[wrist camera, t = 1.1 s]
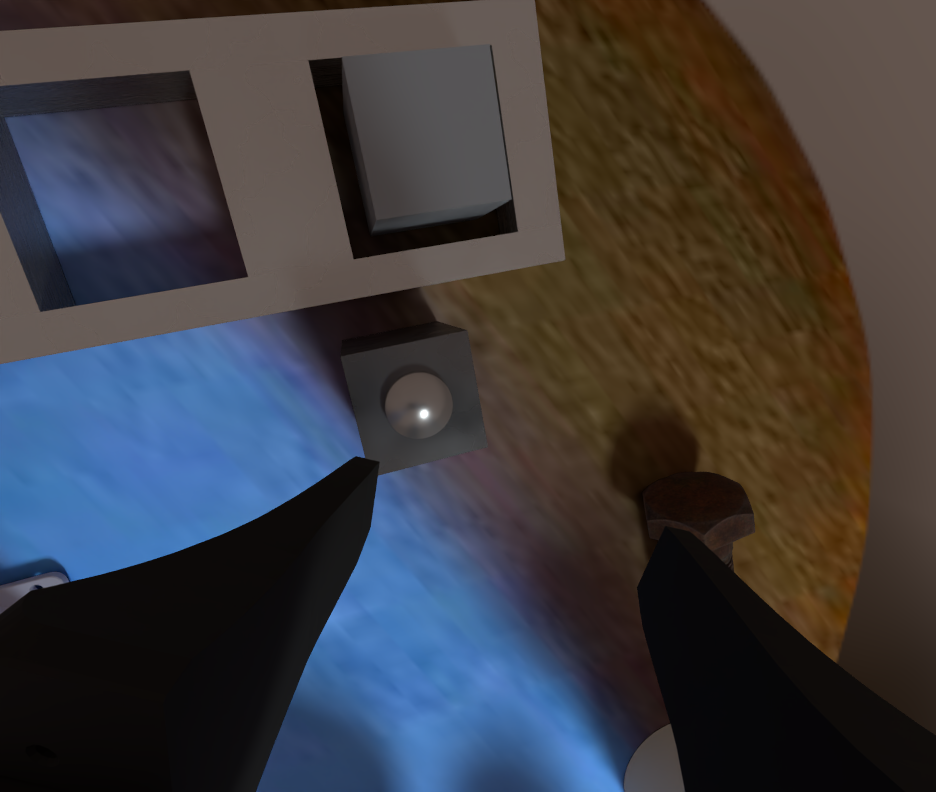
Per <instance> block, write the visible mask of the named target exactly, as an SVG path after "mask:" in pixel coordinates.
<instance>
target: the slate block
mask: <svg viewBox="0 0 936 792" xmlns="http://www.w3.org/2000/svg"><path fill="white" fill-rule="evenodd" d="M342 86H343V114H344V118H345V123H346V128H347V132H348V137H349V141H350V146H351V151H352V155H353V160H354V164H355V169H356V174H357V178H358V183H359V187H360V192H361V197H362V201H363V206H364V210H365V215H366V219H367V224H368V229H369V233H370V236H377V235H383V234H389V233H395V232H402V231H408V230H414V229H420V228H426V227H433V226H439V225H445V224H451V223H458V222H464V221H470V220H476V219H478V218H480V217H482V216H484V215H485V214H487V213H489V212H491V211H492V210H494V209H496V208H497V207H499V206H501V205H503V204H504V203H506V202H508V201H509V200H511V199H512V198H511V191H510V184H509V177H508V170H507V163H506V156H505V149H504V142H503V135H502V128H501V121H500V114H499V107H498V100H497V93H496V86H495V79H494V72H493V65H492V58H491V51H490V44H485V45H473V46H461V47H449V48H438V49H426V50H414V51H403V52H391V53H379V54H368V55H356V56H344V57H342Z"/></svg>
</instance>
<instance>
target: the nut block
mask: <svg viewBox="0 0 936 792" xmlns="http://www.w3.org/2000/svg"><path fill="white" fill-rule="evenodd" d="M340 357H341V361H342V365H343V369H344V373H345V377H346V381H347V385H348V389H349V393H350V398H351V402H352V406H353V410H354V414H355V418H356V422H357V426H358V430H359V434H360V438H361V442H362V446H363V450H364V454H365V458H366V459H370V460H375V461H379V462H380V464H379V471H378V475H382V474H386V473H390V472H393V471H397V470H401V469H405V468H409V467H413V466H416V465H420V464H424V463H428V462H432V461H436V460H439V459H443V458H447V457H451V456H455V455H459V454H462V453H466V452H470V451H474V450H478V449H482V448H486V447H488V445H487V440H486V434H485V428H484V423H483V417H482V411H481V406H480V400H479V394H478V389H477V383H476V377H475V372H474V366H473V360H472V355H471V349H470V343H469V338H468V332H467V330H464V329H461V328H458V327H454V326H451V325H448V324H444V323H441V322H438V321H436V322H431V323H426V324H421V325H416V326H411V327H406V328H401V329H396V330H391V331H386V332H381V333H376V334H371V335H366V336H361V337H356V338H351V339H347V340H342V346H341V356H340Z"/></svg>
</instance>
